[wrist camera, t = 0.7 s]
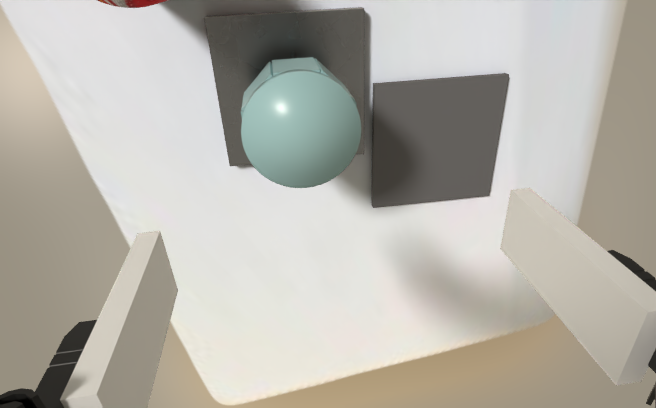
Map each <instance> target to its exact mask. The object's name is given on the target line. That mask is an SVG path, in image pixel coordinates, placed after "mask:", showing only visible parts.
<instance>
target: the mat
mask: <svg viewBox="0 0 656 408" xmlns="http://www.w3.org/2000/svg"><path fill="white" fill-rule="evenodd" d="M508 79H509V74H506V73H503V74H490V75H477V76H464V77H451V78H438V79H425V80H412V81H399V82H386V83H373V132H372V206H373V208H375V207H384V206H394V205H403V204H413V203H422V202H432V201H441V200H451V199H460V198H470V197H479V196H488V195H489V192H490V186H491V180H492V174H493V168H494V162H495V156H496V150H497V144H498V139H499V133H500V127H501V121H502V115H503V109H504V103H505V97H506V91H507V85H508Z"/></svg>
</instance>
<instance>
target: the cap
mask: <svg viewBox="0 0 656 408" xmlns="http://www.w3.org/2000/svg"><path fill="white" fill-rule="evenodd" d="M241 117H242V125H241V137H242V143H243V147H244V150H245V153H246V155H247V157H248V159H249V161H250V162H251V163H252V165H253V166H254V167H255V168H256V169H257V171H258V172H260V173H261V174H262V175H263V176H264V177H266V178H268V179H269V180H271V181H273V182H275V183H277V184H280V185H283V186H287V187H293V188H307V187H314V186H317V185H321V184H323V183H326V182H328V181H330V180H331V179H333V178H335V177H336V176H338V175H339V174H340V173H341V172H342V171H343V170H344V169H345V168H346V167H347V166H348V165H349V164H350V162H351V161H352V159H353V158H354V156H355V154H356V152H357V149H358V146H359V143H360V138H361V121H360V116H359V113H358V110H357V107H356V102H355V99H354V98H353V96H352V95H351V94H350V92H349V91H348V89H347V88H346V86H345V85H344V84H343V83H342V82H341V81H340V80H339V79H337V78H336V77H335V76H334V75H333V74H332V73H331V72H330V71H329V70H328V69H327V68H326V67H325V66H323V65H322V64H321V63H320V62H319V61H318V60H317V59H316V58H315V59H314V58H313V57H308V58H294V59H280V60H272V63H271V62H270V61H269V62H268V64H267V65H266V66H265V67H264V69H263V70H262V71H261V72H260V74H259V75H258V76H257V77H256V79H255V80H254V81H253V82H252V83H251V85H250V86H249V87H248V88H247V90H246V91H245V92H244V95H243V101H242V108H241Z"/></svg>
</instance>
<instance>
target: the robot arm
mask: <svg viewBox="0 0 656 408" xmlns="http://www.w3.org/2000/svg"><path fill="white" fill-rule="evenodd" d="M500 249H501V250H502V251H503V252H504V254H505V255H506V256H507V257H508V258H509V259H510V261H511V262H512V263H513V264H514V265H515V267H516V268H517V269H518V270H519V271H520V272H521V274H522V275H523V276H524V277H525V278H526V280H527V281H528V282H529V283H530V284H531V285H532V287H533V288H534V289H535V290H536V291H537V293H538V294H539V295H540V296H541V297H542V298H543V300H544V301H545V302H546V303H547V304H548V306H549V307H550V308H551V309H552V310H553V311H554V313H555V314H556V315H557V316H558V317H559V318H560V319H561V321H562V322H563V323H564V324H565V326H566V327H567V328H568V329H569V330H570V331H571V333H572V334H573V335H574V336H575V337H576V339H577V340H578V341H579V342H580V343H581V344H582V346H583V347H584V348H585V349H586V350H587V352H588V353H589V354H590V355H591V356H592V357H593V359H594V360H595V361H596V362H597V363H598V365H599V366H600V367H601V368H602V369H603V370H604V371H605V373H606V374H607V375H608V376H609V378H610V379H611V380H612V381H613V382H614V383H615V384H616V385H622V384H628V383H634V382H639V381H642V379H643V377H644V375H645V372H646V371H647V368H648V366H649V367H650V368H651V369H652V370H653V371H654V372H655V373H656V280H655V277H653V276H652V275H651V274H649V273H648V272H645V271H644V269H643V268H642V267H640V266H639V265H638V264H637V263H636V262H634V261H633V260H632V259H630V258H628V257H626V256H624V255H622V254H620V253H618V252H616V251H614V250H611V251H606V250H605V249H604V248H602V247H601V246H600V245H599V244H597V243H596V242H595V241H593V239H591V238H590V237H589V236H588V235H586V234H585V233H584V232H583V231H582V230H580V229H579V228H578V227H577V226H576V225H574V224H573V223H572V222H571V221H570V220H568V219H567V218H566V217H565V216H563V215H562V214H561V213H560V212H559V211H557V210H556V209H555V208H554V207H553V206H551V205H550V204H549V203H548V202H546V201H545V200H544V199H543V198H542V197H540V196H539V195H538V194H537V193H536V192H534V191H533V190H532V189H531V188H524V189H516V190H511V193H510V198H509V204H508V209H507V215H506V220H505V226H504V231H503V237H502V242H501V248H500ZM177 292H178V289H177V286H176V282H175V279H174V276H173V272H172V269H171V266H170V262H169V259H168V256H167V252H166V249H165V246H164V242H163V239H162V236H161V233H160V231H154V232H146V233H138V234H137V236H136V238H135V240H134V243H133V245H132V247H131V249H130V251H129V253H128V255H127V258H126V260H125V262H124V264H123V266H122V268H121V270H120V273H119V275H118V277H117V279H116V281H115V283H114V285H113V288H112V290H111V292H110V294H109V296H108V298H107V300H106V303H105V305H104V307H103V309H102V311H101V313H100V315H99V317H98V320H92V321H85V322H79V323H78V324H77V325H76V326H75V327H74V328H73V329H72V330H71V331H70V332H69V333H68V334H67V335H66V336H65V337H64V339H63V340H62V342H61V344H60V346H59V348H58V350H57V352H56V355H54V357H53V359H52V361H51V363H50V367H49V368H48V369H47V370H46V372H45V374H44V376H43V378H42V380H41V381H40V383H39V385H38V388H37V389H36V391H35V392H34V391H33V390H31V389H17V390H13V391H8V392H6V393H4V394H2V395H0V408H147V407H148V402H149V399H150V395H151V391H152V387H153V384H154V380H155V376H156V372H157V368H158V364H159V360H160V357H161V353H162V349H163V345H164V341H165V338H166V334H167V330H168V326H169V322H170V319H171V315H172V311H173V307H174V303H175V299H176V296H177ZM654 399H655V407H656V383H655V385H654V387H653V389H652V391H651V393H650V395H649V397H648V399H647V402H646V404H648V405H651V404H652V402H653V400H654Z"/></svg>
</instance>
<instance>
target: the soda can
mask: <svg viewBox="0 0 656 408" xmlns="http://www.w3.org/2000/svg"><path fill="white" fill-rule="evenodd" d="M98 1H100V2H103V3H106V4H109V5H113V6H118V7H127V8H139V7H146V6H150V5H154V4H158V3H161V2H165V1H168V0H98Z"/></svg>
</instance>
